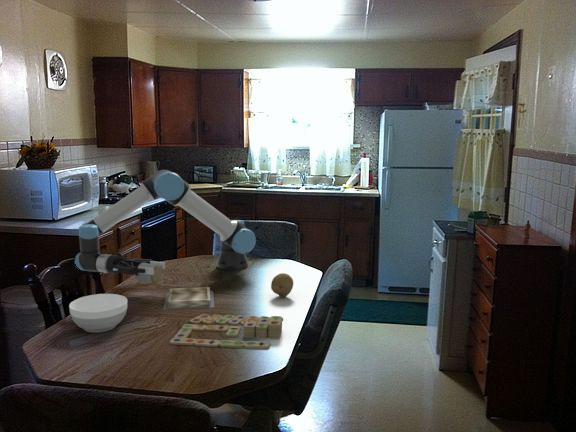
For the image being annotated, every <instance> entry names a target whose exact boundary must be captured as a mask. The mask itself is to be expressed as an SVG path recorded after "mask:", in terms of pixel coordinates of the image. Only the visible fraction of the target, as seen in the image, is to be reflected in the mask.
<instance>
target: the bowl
mask: <svg viewBox="0 0 576 432" xmlns="http://www.w3.org/2000/svg"><path fill="white" fill-rule="evenodd" d="M68 308H69V314H70V317H71V319H72V321H73V322H74V324H75V325H77V327H79V328H80V329H83V330H84V331H85V332H88V333H104V332H107V331H111V330H113V329H115V328H116V327H117V325H118V324H120V323H121V322H122V321H123V319H124V317H125V316H126V313H127V310H128V298H127V296H124V295H122V294H121V295H120V294H115V293H97V294H91V295H86V296H81V297H79V298H77V299H74V300H73V301H71V302H70V303H69V305H68Z"/></svg>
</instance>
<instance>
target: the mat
mask: <svg viewBox="0 0 576 432" xmlns="http://www.w3.org/2000/svg"><path fill="white" fill-rule="evenodd" d="M168 297H169V292H166V295H165V301H164V305H163V311H166V310H167V311H168V310H187V309H189V310H190V309H206V308H207V309H210V308H215V297H214V290H210V306H193V307H172V308H168Z"/></svg>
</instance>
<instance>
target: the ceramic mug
mask: <svg viewBox="0 0 576 432" xmlns="http://www.w3.org/2000/svg"><path fill="white" fill-rule="evenodd" d="M139 266H140V267H151V268H154V275H149V274H139V273H138V275H137V276H136V277H135V278H136V279H137V281H138V282H142V283H143V282H144V283H148V284H149V283H150V284H157V283H159V282H160V280H161V279H164V274H163V269H161V268H160V267H159V266H157V265H152V264H148V263H141V264H140V265H139ZM139 266H138V267H139Z"/></svg>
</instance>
